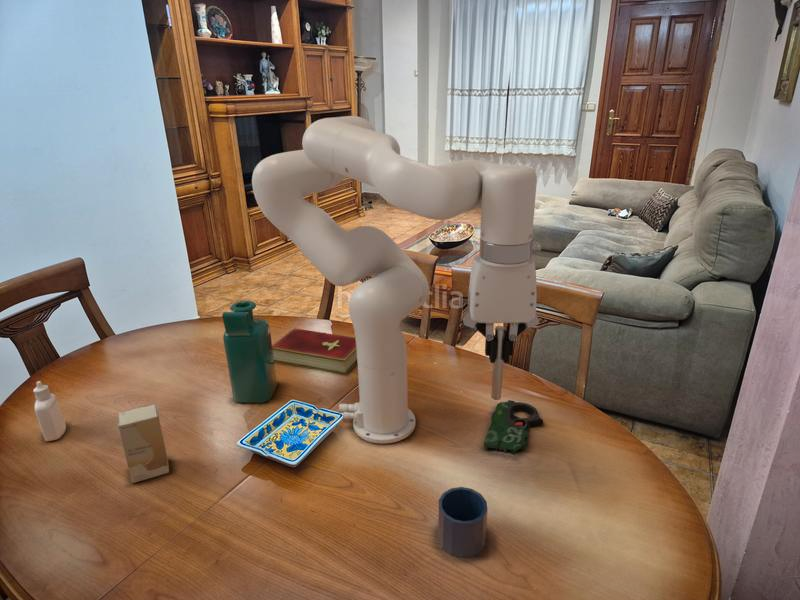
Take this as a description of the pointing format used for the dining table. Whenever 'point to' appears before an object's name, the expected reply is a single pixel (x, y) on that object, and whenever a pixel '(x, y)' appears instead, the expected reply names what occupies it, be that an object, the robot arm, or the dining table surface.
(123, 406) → the dining table surface
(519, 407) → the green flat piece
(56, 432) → the eye dropper bottle
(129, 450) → the cosmetic box
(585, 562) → the dining table surface
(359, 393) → the robot arm
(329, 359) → the hardcover book
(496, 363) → the stylus
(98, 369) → the dining table surface
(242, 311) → the green bottle
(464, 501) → the pen cup
